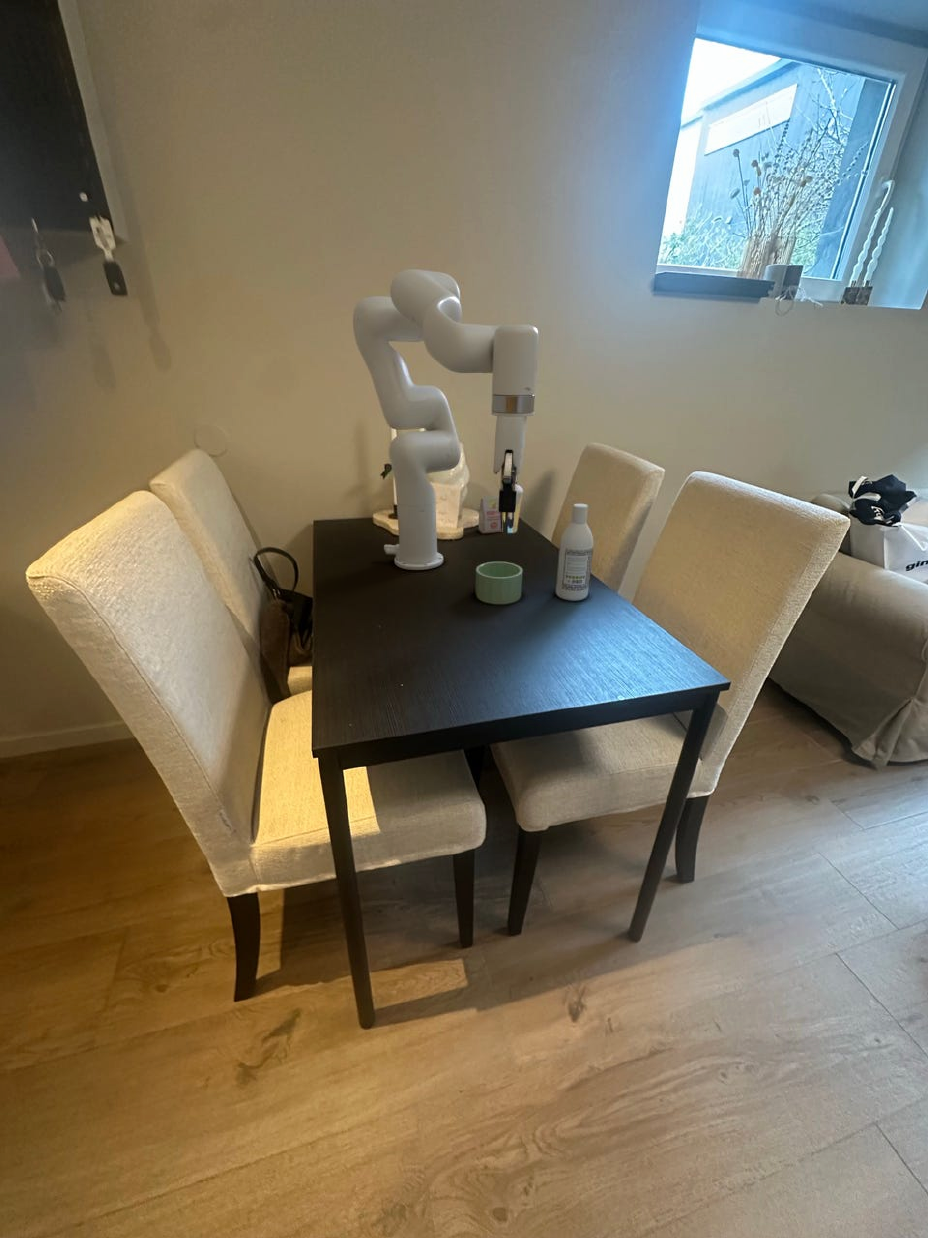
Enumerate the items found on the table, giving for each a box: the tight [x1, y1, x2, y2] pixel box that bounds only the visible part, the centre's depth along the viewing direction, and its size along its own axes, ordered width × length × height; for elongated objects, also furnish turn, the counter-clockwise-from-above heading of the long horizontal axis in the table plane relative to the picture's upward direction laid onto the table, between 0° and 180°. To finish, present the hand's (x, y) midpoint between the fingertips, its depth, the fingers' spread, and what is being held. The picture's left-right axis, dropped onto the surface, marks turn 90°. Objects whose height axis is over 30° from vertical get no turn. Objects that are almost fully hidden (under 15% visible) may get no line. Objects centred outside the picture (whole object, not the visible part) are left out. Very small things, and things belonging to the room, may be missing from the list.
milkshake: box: [495, 479, 524, 534], centre depth 96 cm, size 5×5×10 cm
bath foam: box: [555, 503, 595, 602], centre depth 105 cm, size 7×7×20 cm
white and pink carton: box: [478, 497, 503, 534], centre depth 151 cm, size 4×7×10 cm, turn 109°
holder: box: [475, 560, 524, 605], centre depth 109 cm, size 10×10×6 cm
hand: (507, 507), depth 96 cm, fingers closed on milkshake, 4 cm apart
